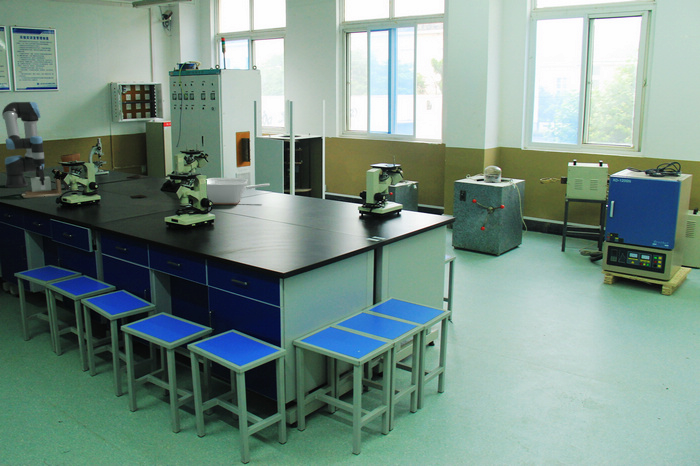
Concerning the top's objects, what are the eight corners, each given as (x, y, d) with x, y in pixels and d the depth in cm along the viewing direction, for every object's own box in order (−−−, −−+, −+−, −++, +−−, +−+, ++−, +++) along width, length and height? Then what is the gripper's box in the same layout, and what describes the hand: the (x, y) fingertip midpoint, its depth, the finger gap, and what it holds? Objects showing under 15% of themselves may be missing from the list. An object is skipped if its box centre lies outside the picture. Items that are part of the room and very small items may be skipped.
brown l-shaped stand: (22, 195, 426) (19, 171, 422) (58, 192, 439) (56, 169, 435) (24, 198, 416) (21, 173, 412) (62, 195, 430) (59, 171, 426)
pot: (209, 198, 426) (208, 177, 423) (271, 199, 427) (271, 178, 424) (200, 206, 398) (199, 184, 395) (267, 207, 400) (267, 184, 396)
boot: (94, 185, 473) (91, 151, 467) (99, 186, 467) (96, 152, 460) (61, 188, 456) (57, 153, 450) (65, 190, 450) (61, 154, 443)
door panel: (32, 194, 425) (30, 177, 422) (50, 193, 431) (49, 176, 428) (33, 195, 422) (31, 178, 419) (51, 193, 429) (50, 177, 426)
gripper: (29, 156, 429) (32, 186, 434) (35, 160, 409) (38, 191, 414) (41, 156, 433) (44, 185, 438) (47, 159, 413) (50, 190, 418)
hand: (41, 188), depth 426 cm, fingers open, 13 cm apart
